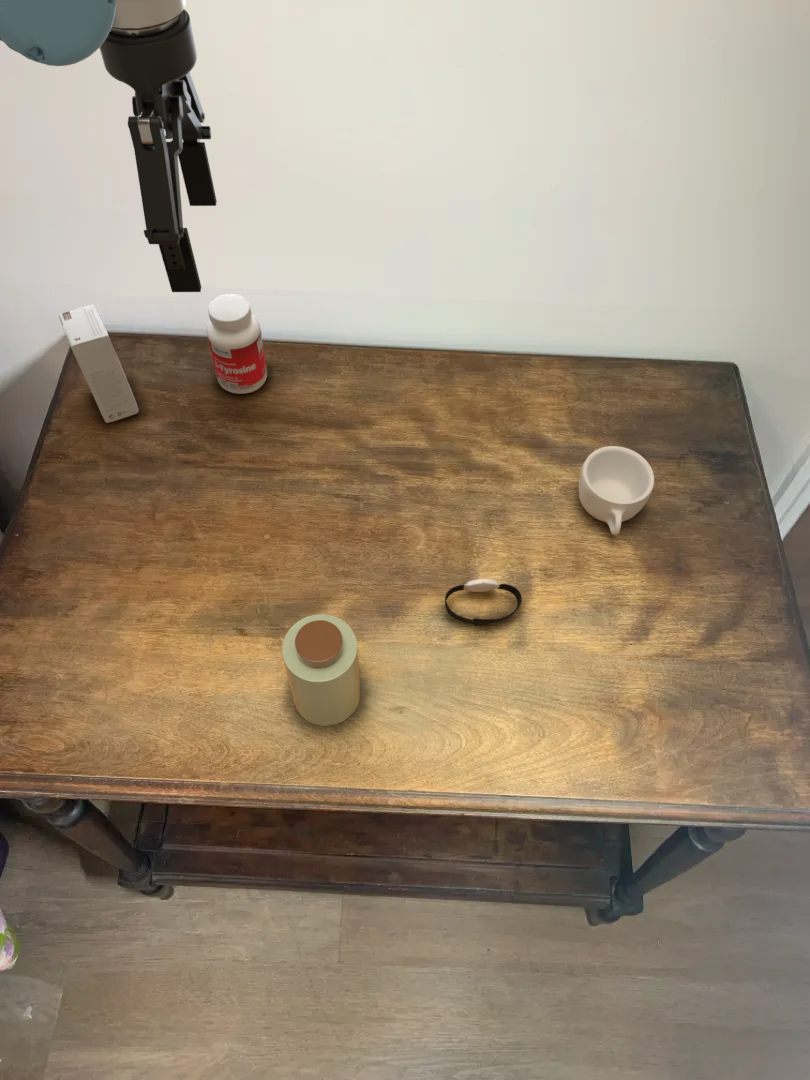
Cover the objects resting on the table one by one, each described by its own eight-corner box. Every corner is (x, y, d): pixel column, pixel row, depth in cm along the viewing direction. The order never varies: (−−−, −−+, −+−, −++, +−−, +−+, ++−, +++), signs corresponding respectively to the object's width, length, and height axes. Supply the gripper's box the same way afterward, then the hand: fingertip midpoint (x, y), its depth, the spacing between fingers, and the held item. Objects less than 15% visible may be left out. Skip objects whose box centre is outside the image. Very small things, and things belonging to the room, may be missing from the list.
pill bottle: (213, 394, 99) (195, 323, 89) (222, 359, 102) (206, 287, 93) (264, 397, 99) (251, 327, 89) (271, 361, 102) (260, 290, 93)
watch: (516, 587, 84) (520, 569, 81) (521, 628, 82) (526, 610, 79) (442, 590, 84) (444, 571, 81) (445, 630, 81) (447, 613, 78)
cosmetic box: (141, 413, 97) (112, 335, 87) (104, 425, 96) (70, 348, 85) (126, 379, 100) (96, 300, 90) (90, 391, 99) (56, 312, 88)
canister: (291, 726, 75) (278, 676, 66) (294, 663, 79) (282, 607, 70) (360, 725, 76) (356, 675, 66) (360, 662, 79) (357, 606, 70)
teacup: (572, 473, 93) (581, 443, 88) (639, 479, 93) (652, 449, 88) (573, 546, 87) (583, 517, 83) (645, 552, 87) (659, 524, 82)
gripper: (165, 98, 57) (219, 330, 75) (206, -55, 71) (244, 172, 88) (57, 98, 57) (137, 330, 74) (119, -55, 71) (174, 172, 88)
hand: (195, 245), depth 81 cm, fingers open, 13 cm apart
